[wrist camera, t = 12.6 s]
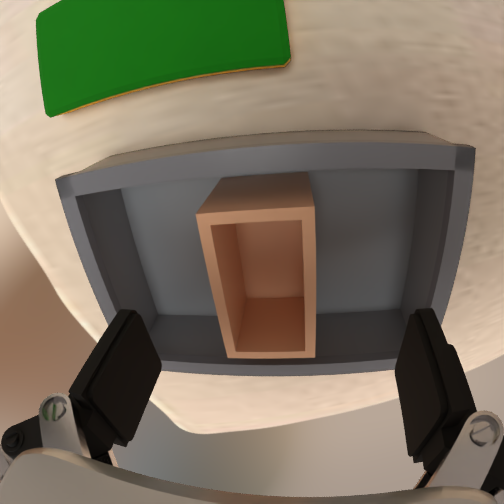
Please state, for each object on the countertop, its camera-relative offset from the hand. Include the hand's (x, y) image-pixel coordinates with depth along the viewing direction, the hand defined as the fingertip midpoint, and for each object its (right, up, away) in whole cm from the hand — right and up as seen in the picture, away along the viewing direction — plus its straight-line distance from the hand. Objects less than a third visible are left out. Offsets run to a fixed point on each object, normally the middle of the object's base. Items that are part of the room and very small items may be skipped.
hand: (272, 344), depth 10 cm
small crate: (0, +4, +8) cm, 8 cm away
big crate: (0, +4, +8) cm, 9 cm away
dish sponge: (-6, +15, +3) cm, 17 cm away
